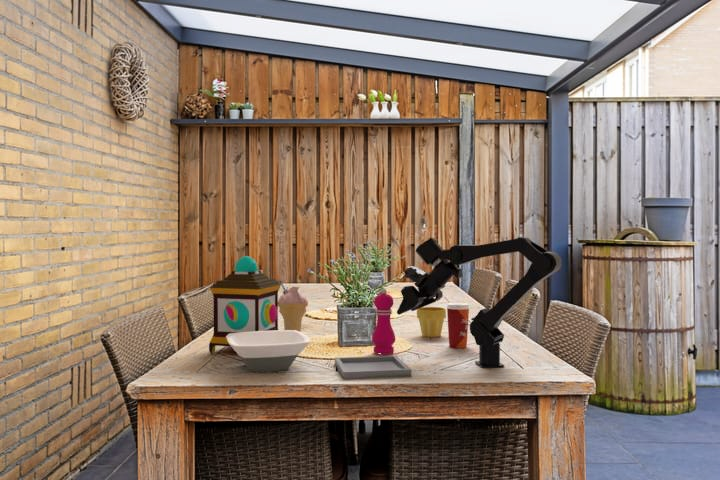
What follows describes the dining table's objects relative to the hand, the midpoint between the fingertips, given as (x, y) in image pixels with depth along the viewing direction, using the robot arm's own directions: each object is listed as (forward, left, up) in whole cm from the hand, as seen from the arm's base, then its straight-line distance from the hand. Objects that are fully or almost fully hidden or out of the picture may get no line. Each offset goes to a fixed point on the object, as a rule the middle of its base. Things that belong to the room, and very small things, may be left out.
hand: (404, 311), depth 193 cm
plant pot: (+32, -17, -13) cm, 39 cm away
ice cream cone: (+39, +32, -13) cm, 52 cm away
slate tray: (-17, +14, -13) cm, 26 cm away
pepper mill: (+5, +6, -13) cm, 15 cm away
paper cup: (+11, -20, -13) cm, 27 cm away
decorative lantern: (+16, +48, -14) cm, 52 cm away
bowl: (-9, +42, -14) cm, 45 cm away
